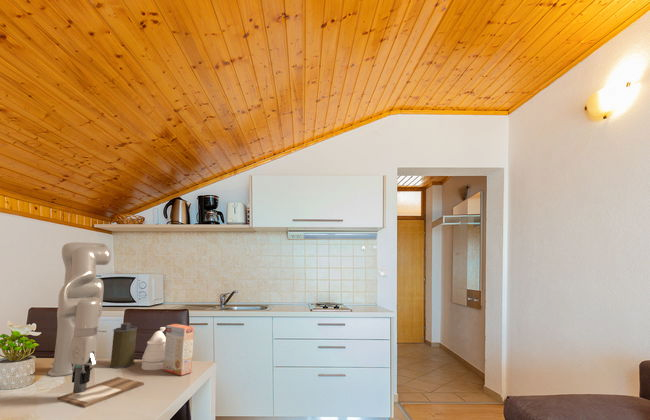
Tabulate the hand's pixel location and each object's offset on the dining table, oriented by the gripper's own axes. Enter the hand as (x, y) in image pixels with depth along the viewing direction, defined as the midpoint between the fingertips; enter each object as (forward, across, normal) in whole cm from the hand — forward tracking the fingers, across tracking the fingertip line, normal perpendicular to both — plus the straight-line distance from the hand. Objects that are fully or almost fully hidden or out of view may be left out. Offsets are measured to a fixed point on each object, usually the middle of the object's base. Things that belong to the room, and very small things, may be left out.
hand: (80, 381), depth 129 cm
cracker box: (+6, +10, +38) cm, 40 cm away
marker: (+3, 0, 0) cm, 3 cm away
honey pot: (+6, -6, +40) cm, 41 cm away
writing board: (+6, +2, +8) cm, 10 cm away
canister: (+6, -22, +34) cm, 41 cm away
